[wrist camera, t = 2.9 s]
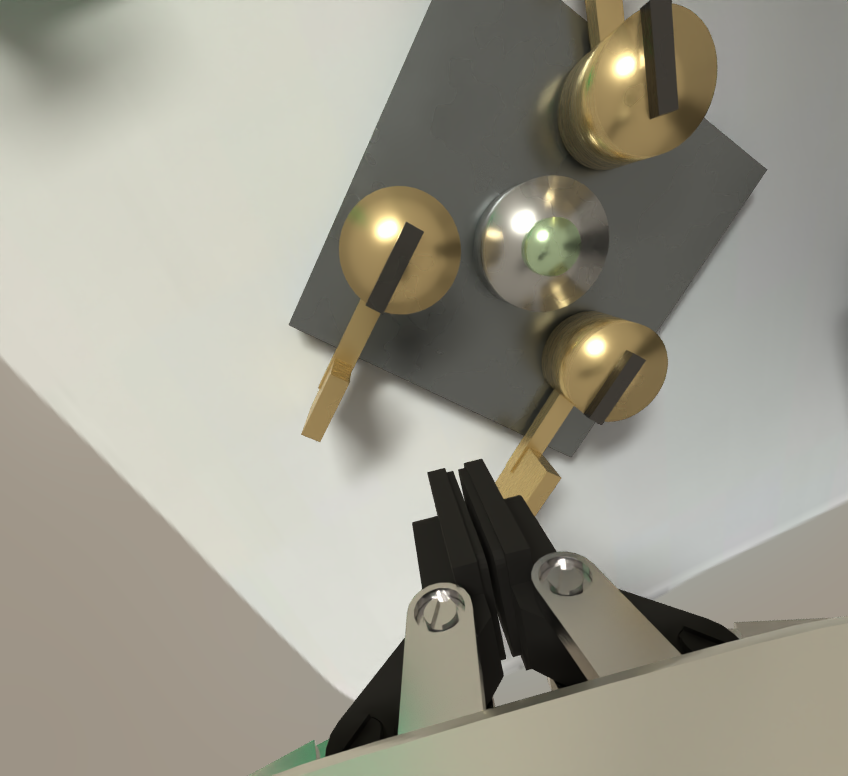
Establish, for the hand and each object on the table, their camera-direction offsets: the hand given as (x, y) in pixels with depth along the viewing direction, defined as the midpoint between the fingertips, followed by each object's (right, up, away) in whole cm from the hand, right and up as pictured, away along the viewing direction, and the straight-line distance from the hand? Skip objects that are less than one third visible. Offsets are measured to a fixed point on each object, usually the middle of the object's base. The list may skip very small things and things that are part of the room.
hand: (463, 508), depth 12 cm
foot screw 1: (-4, +7, +6) cm, 10 cm away
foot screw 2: (+6, +17, +4) cm, 19 cm away
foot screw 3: (+5, +3, +9) cm, 11 cm away
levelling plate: (+3, +10, +7) cm, 13 cm away
